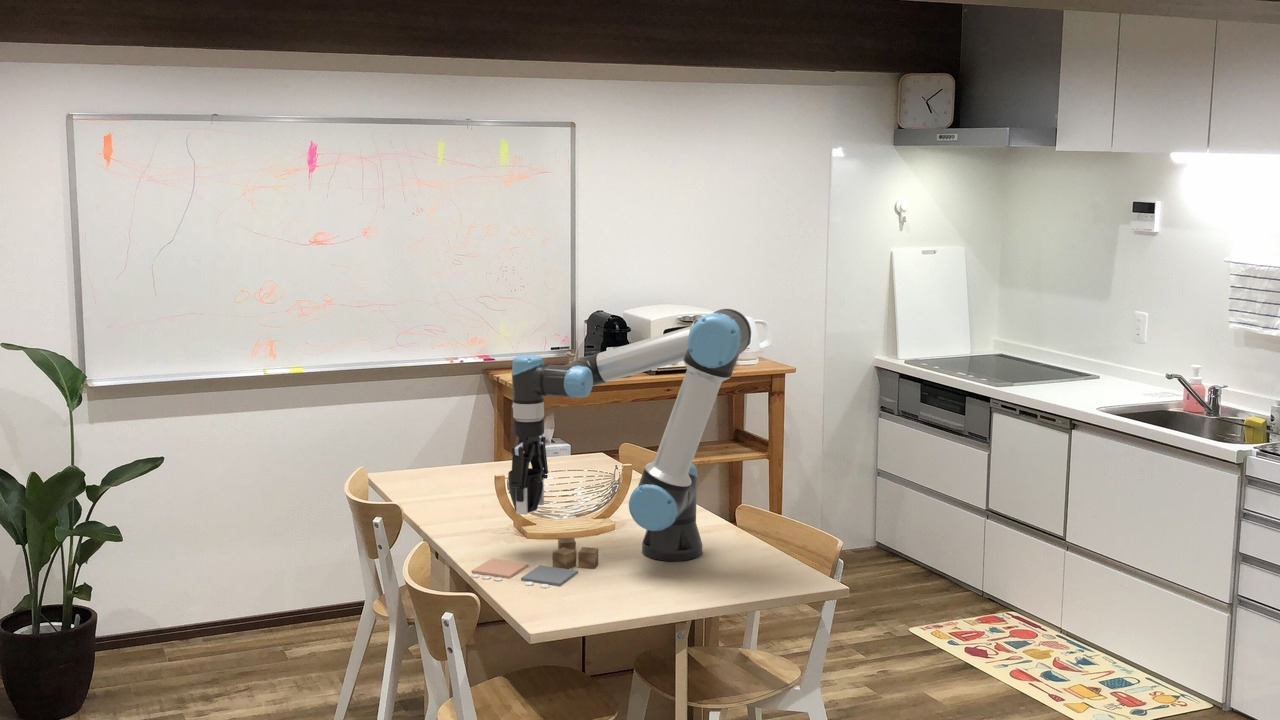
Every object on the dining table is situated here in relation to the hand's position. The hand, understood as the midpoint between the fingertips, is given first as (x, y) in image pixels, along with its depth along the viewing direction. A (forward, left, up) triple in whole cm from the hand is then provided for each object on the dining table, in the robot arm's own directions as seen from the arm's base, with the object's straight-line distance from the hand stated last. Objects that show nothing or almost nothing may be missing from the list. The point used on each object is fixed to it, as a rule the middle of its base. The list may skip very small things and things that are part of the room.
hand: (530, 509), depth 303 cm
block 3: (-17, +2, -12) cm, 20 cm away
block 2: (-12, +5, -12) cm, 17 cm away
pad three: (+1, +14, -12) cm, 19 cm away
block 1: (-9, -3, -12) cm, 15 cm away
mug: (0, +1, -1) cm, 1 cm away
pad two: (-12, +14, -12) cm, 22 cm away
